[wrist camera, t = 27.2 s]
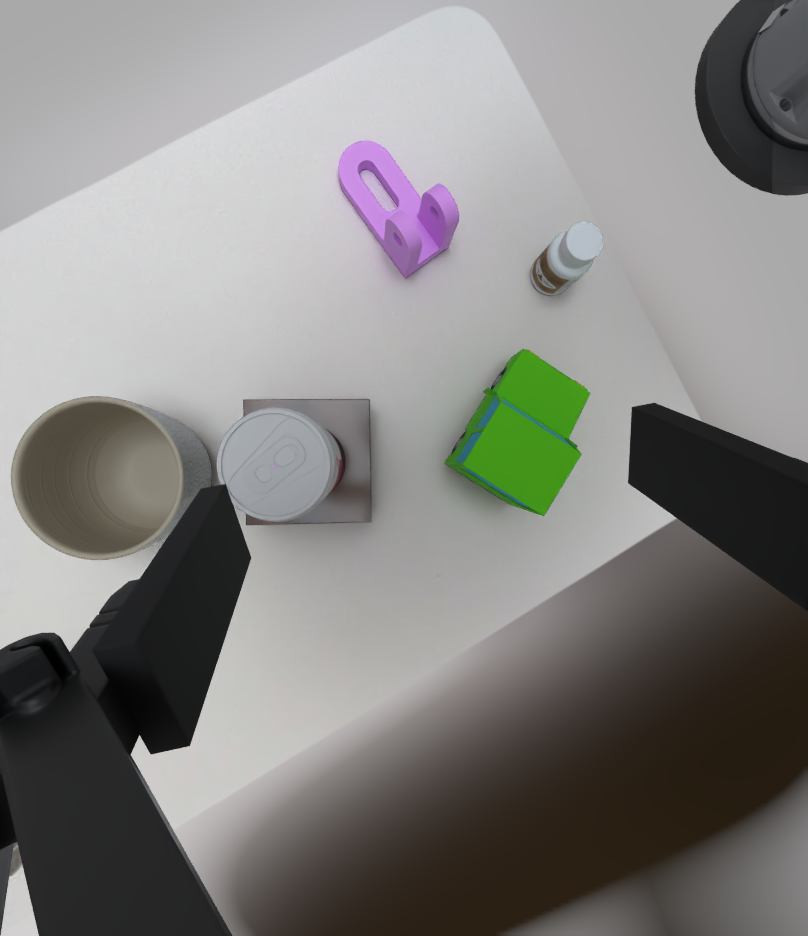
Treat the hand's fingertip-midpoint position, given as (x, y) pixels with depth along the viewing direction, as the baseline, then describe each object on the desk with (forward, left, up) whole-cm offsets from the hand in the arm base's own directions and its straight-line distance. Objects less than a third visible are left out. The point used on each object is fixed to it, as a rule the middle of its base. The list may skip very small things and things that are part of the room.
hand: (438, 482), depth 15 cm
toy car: (-13, -4, -33) cm, 35 cm away
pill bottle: (-17, -20, -33) cm, 42 cm away
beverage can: (+7, -1, -27) cm, 28 cm away
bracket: (0, -26, -33) cm, 42 cm away
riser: (+7, -1, -32) cm, 33 cm away
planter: (+22, 0, -33) cm, 40 cm away
